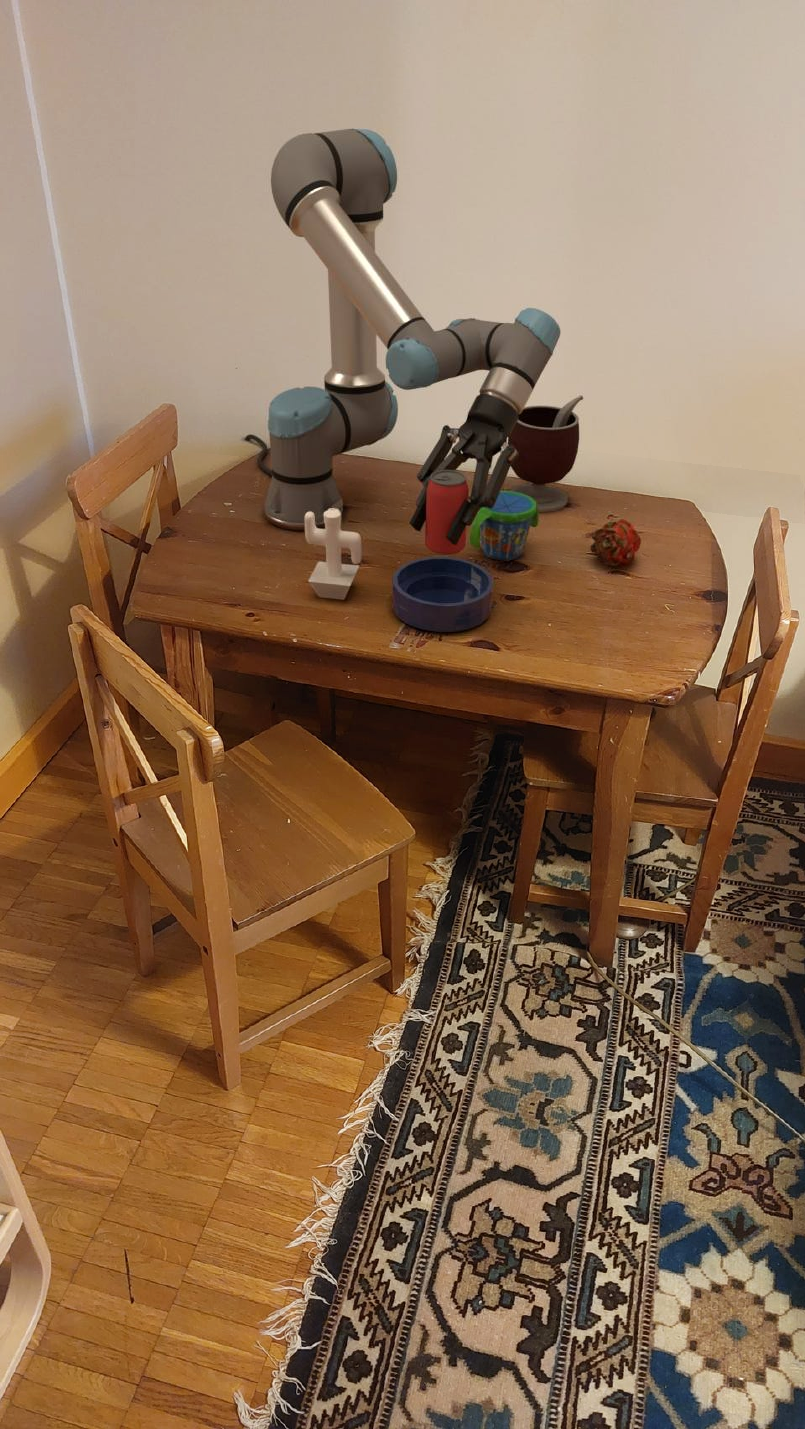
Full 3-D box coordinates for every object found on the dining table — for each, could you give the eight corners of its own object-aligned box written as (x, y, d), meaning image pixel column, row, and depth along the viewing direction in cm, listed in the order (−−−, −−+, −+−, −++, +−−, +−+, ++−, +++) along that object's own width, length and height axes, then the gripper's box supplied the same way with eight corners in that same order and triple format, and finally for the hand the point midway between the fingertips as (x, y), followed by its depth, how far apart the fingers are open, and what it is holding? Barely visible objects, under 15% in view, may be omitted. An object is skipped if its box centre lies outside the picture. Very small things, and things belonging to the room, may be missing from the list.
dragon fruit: (603, 584, 181) (609, 563, 191) (647, 563, 177) (651, 543, 187) (580, 543, 178) (588, 524, 189) (624, 521, 175) (630, 503, 185)
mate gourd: (529, 519, 198) (539, 419, 186) (489, 493, 208) (497, 396, 196) (591, 503, 205) (605, 406, 193) (550, 479, 214) (560, 385, 202)
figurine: (356, 605, 170) (356, 524, 161) (302, 599, 171) (298, 518, 162) (365, 585, 176) (365, 505, 167) (313, 579, 177) (310, 500, 168)
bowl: (390, 585, 176) (390, 557, 172) (484, 584, 177) (487, 556, 173) (394, 635, 162) (395, 606, 159) (497, 634, 163) (499, 605, 160)
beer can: (422, 538, 165) (425, 468, 158) (462, 537, 166) (466, 467, 158) (427, 557, 160) (429, 486, 153) (468, 556, 160) (472, 485, 153)
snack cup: (517, 532, 193) (522, 482, 187) (553, 554, 186) (559, 503, 180) (451, 551, 186) (454, 500, 180) (486, 575, 179) (490, 522, 173)
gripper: (558, 431, 157) (491, 562, 157) (458, 403, 167) (394, 526, 166) (543, 407, 151) (474, 543, 150) (440, 378, 160) (374, 506, 160)
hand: (432, 534), depth 158 cm, fingers closed on beer can, 6 cm apart
